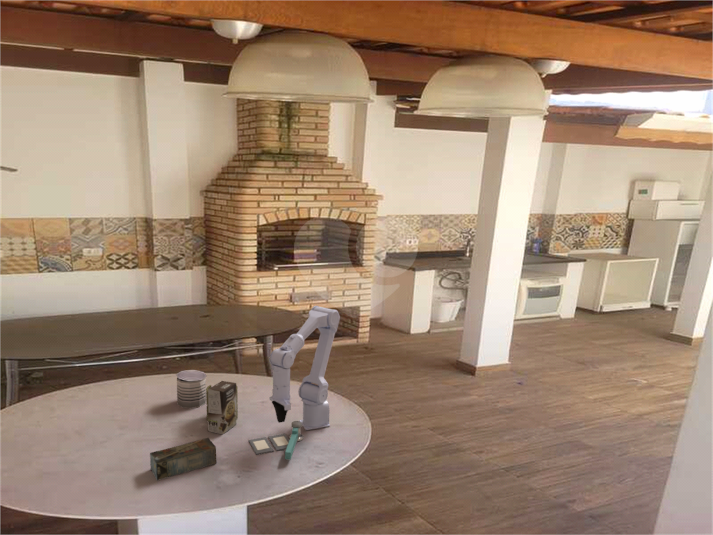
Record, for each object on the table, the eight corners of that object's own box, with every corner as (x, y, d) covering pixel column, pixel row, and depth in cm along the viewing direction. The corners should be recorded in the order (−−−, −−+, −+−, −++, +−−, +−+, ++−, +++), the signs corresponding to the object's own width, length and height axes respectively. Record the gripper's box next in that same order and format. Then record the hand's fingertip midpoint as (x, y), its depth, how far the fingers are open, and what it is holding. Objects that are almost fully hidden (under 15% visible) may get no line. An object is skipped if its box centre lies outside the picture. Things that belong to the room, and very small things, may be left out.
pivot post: (300, 434, 199) (301, 422, 198) (305, 440, 194) (305, 428, 194) (287, 436, 197) (287, 424, 196) (291, 442, 192) (292, 431, 191)
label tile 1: (265, 438, 195) (265, 436, 195) (273, 451, 186) (273, 450, 186) (248, 441, 192) (248, 439, 192) (256, 455, 183) (256, 453, 183)
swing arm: (292, 431, 197) (292, 420, 196) (302, 432, 197) (302, 421, 196) (282, 459, 179) (282, 447, 178) (293, 459, 178) (293, 447, 178)
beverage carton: (149, 469, 173) (148, 449, 172) (209, 453, 184) (209, 435, 183) (156, 481, 167) (155, 461, 166) (218, 464, 177) (217, 445, 176)
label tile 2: (284, 434, 198) (284, 433, 198) (293, 447, 189) (293, 446, 189) (268, 437, 195) (268, 436, 195) (276, 451, 186) (276, 449, 186)
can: (184, 395, 228) (184, 367, 226) (211, 398, 226) (210, 370, 224) (171, 407, 217) (171, 378, 215) (199, 409, 215) (199, 380, 213)
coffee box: (223, 435, 196) (222, 391, 193) (207, 431, 198) (207, 388, 195) (237, 424, 204) (237, 382, 201) (222, 420, 207) (221, 379, 204)
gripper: (264, 377, 193) (263, 414, 195) (276, 393, 180) (276, 432, 183) (283, 375, 196) (283, 411, 198) (297, 390, 183) (296, 429, 186)
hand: (281, 421), depth 191 cm, fingers closed
